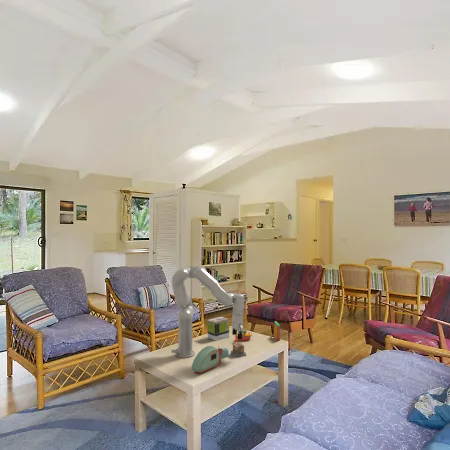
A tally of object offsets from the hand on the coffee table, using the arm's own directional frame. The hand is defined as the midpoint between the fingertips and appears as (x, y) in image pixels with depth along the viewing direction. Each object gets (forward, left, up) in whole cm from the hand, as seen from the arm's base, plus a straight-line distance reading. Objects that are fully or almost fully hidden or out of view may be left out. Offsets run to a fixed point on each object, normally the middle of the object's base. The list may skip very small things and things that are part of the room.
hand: (237, 336), depth 234 cm
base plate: (+1, 0, -13) cm, 13 cm away
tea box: (0, +41, -13) cm, 43 cm away
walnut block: (+1, 0, -10) cm, 10 cm away
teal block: (-9, +2, -13) cm, 16 cm away
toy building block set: (+26, +24, -13) cm, 38 cm away
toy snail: (-25, -15, -13) cm, 32 cm away
